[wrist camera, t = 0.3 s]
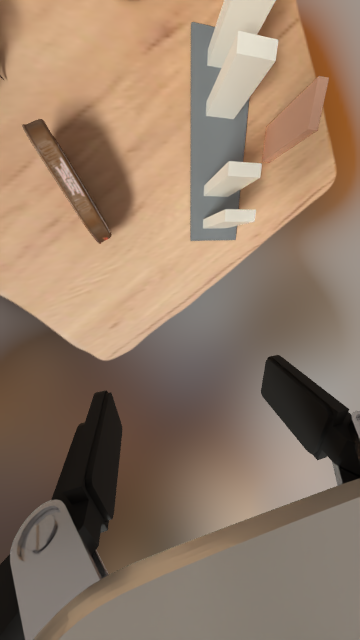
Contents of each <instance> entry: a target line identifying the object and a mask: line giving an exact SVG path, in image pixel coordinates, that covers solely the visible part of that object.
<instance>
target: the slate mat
mask: <svg viewBox="0 0 360 640" xmlns="http://www.w3.org/2000/svg"><path fill="white" fill-rule="evenodd" d="M214 29H215V27H212V26H208V25H204V24H199V23H195V22H192V23H191V241H200V240H236V229H237V226H234V227H230V228H205V229H203V219H205V218H207V217H210V216H212V215H214V214H216V213H218V212H221V211H223V210H225V209H239V198H240V190H239V191H237V192H235V193H234V194H232V195H230V196H228V197H220V196H204V185H205V184H206V183H207V182H208V181H209V180H210V179H211V178H212V177H213V176H214V175H215V174H216V173H217V172H218V171H219V170H220V169H221V168H222V167H223V166H225V165H226V164H227V163H228V162H229V161H235V162H243V157H244V147H245V136H246V126H247V116H248V105H249V99H248V100H247V102H246V103H245V104H244V106H243V107H242V108H241V110H240V111H239V113H238V114H237V115H236V117H235V118H234V119H228V118H220V117H212V116H206V102H207V99H208V97H209V95H210V93H211V91H212V88H213V86H214V84H215V82H216V79H217V77H218V75H219V73H220V70H221V68H218V67H213V66H207V61H208V47H209V44H210V41H211V38H212V35H213V32H214Z"/></svg>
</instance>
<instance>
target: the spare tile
mask: <svg viewBox="0 0 360 640" xmlns="http://www.w3.org/2000/svg"><path fill="white" fill-rule="evenodd" d="M328 80H329V78H327V77H321V76H318V77H317V78H316V79H315V80H314V81H313V82H312V83H311V84H310V85H309V86H308V87H307V88H306V89H305V90H304V91H303V92H302V93H301V94H300V95H299V96H298V97H297V98H295V99H294V100H293V101H292V102H291V103H290V104H289V105H288V106H287V107H286V108H285V109H284V110H283V111H282V112H281V113H280V114H279V115H278V116H277V117H276V118H275V119H274V120H273V121H272V122H271V123H270V124H269V125H268V126H267V127H266V135H265V142H264V150H263V157H262V162H267V163H269V162H271V161H272V160H274V159H275V158H277V157H278V156H280V155H281V154H283V153H284V152H286V151H287V150H289V149H290V148H292V147H293V146H295V145H296V144H298V143H299V142H301V141H302V140H304V139H305V138H307V137H308V136H310V135H311V134H313V133H314V132H316V131H317V130H318V126H319V121H320V117H321V112H322V108H323V103H324V98H325V94H326V89H327V85H328Z"/></svg>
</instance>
